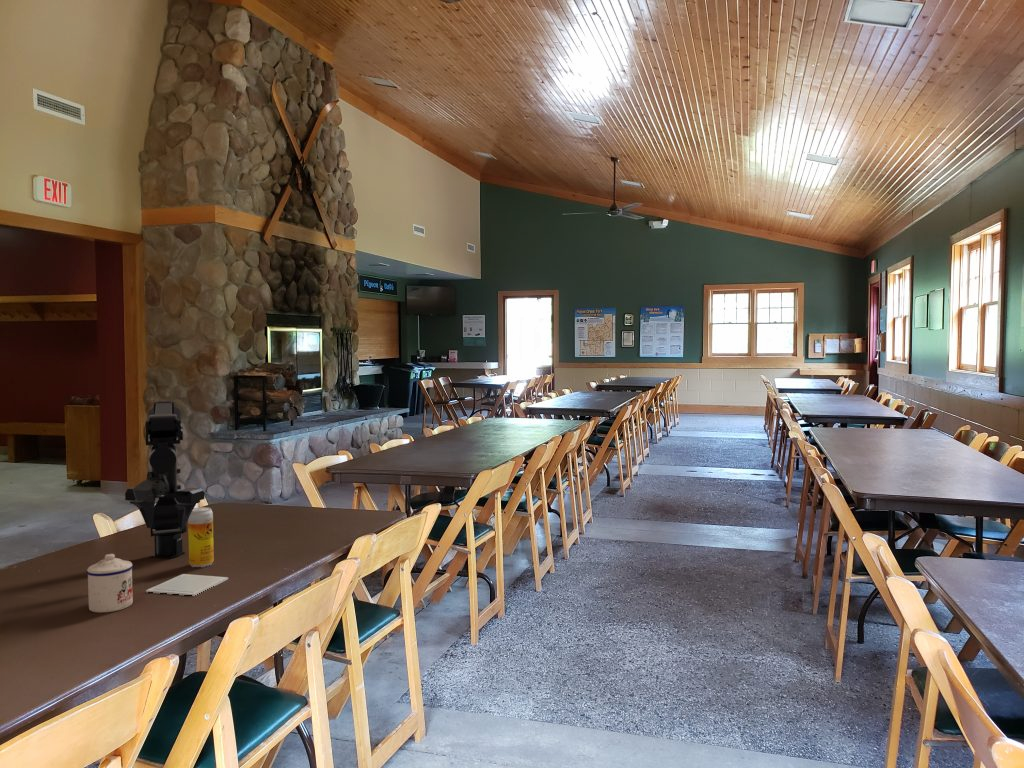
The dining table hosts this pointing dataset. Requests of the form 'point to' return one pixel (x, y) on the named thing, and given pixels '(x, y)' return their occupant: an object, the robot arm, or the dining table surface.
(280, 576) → the dining table surface
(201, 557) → the beer can
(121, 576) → the teacup with lid
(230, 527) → the dining table surface
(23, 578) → the dining table surface
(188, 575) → the coaster
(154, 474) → the robot arm
